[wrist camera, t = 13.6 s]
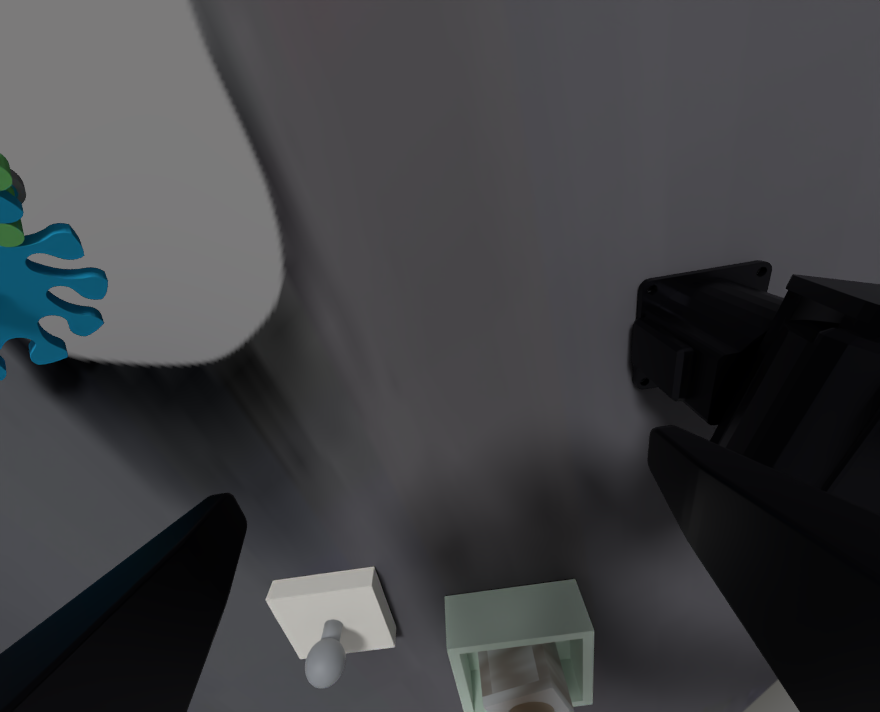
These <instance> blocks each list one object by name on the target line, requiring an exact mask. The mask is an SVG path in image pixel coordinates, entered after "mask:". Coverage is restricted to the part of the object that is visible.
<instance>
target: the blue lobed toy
mask: <svg viewBox="0 0 880 712" xmlns="http://www.w3.org/2000/svg"><path fill="white" fill-rule="evenodd" d="M25 198H26V192H25V188H24V184H23V181H22V180H21V178H20V177H19V176H18V175H17V174H16V173H15V172H14V171H13V170H11V169H10V167H9V163H8V161H7V160H6V158H5V157H4V156H3V155H2V154H0V349H1V348H2V346H3V344H4V343H5V342H6V341H7V340H9V339H12V338H19V337H21V338H28V339H31V341H30V343H29V352H30V358H31V360H32V361H33V362H34V363H36V364H38V365H42V364H48V363H53V362H56V361H59V360H62V359H64V358H67V357H68V353H67V349H66V345H65V342H64V341H63V340H62V339H60V338H58V337H55V336H52V335H51V334H49V333H48V332H46V331H45V330H44V329H43V328H42V327H41V326H40V324H39V322H38V321H39V319H41V318H42V317H45V316H49V315H56V316H61V317H63V318H65V319H66V320H67V321H68V324H69V328H70V330H71V331H72V332H73V333H75V334H77V335H80V336H88V335H90V334H91V333H93V332H95V331H96V330H97V329H99V328H100V327H101V326H102V325H103V324H104V322H103V319H102V316H101V313H100V312H99V311H98V310H97V309H95V308H93V307H87V306H80V305H75V304H71V303H68V302H66V301H63V300H61V299H59V298H58V297H56V296H55V295H53V294H52V293H51V292H49V291H48V290H49V289H50V288H52V287H54V286H66V287H70V288H72V289H73V290H75V291H76V292H77V293H79V294H80V295H81V296H83V297H85V298H88V299H94V300H98V299H102V298H103V297H104V296H105V294H106V292H107V287H108V280H107V278H106V274H105V272H104V271H103V270H101V269H98V268H91V267H90V268H82V269H71V270H70V269H59V268H53V267H49V266H45V265H42V264H38V263H35V262H32V261H30V260H29V259H27V257H28V256H30V255H31V254H35V253H45V254H49V255H52V256H55V257H58V258H62V259H67V260H74V259H78V258H81V257H83V256H84V251H83V248H82V246H81V242H80V240H79V237H78V236H77V234H76V233H75V231H74V230H73V229H72V228H71V226H70V225H69V224H64V223H57V224H52V225H49V226H48V227H46V228H45V229H44V230H41V231H39V232H37V233H35V234H31V235H26V236H24V233H23V229H22V223H21V217H22V216H23V208H22V203H23V202H24V200H25ZM5 377H6V365H5V361H4V359H3V358H2V357H1V356H0V380H3V379H4V378H5Z"/></svg>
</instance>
